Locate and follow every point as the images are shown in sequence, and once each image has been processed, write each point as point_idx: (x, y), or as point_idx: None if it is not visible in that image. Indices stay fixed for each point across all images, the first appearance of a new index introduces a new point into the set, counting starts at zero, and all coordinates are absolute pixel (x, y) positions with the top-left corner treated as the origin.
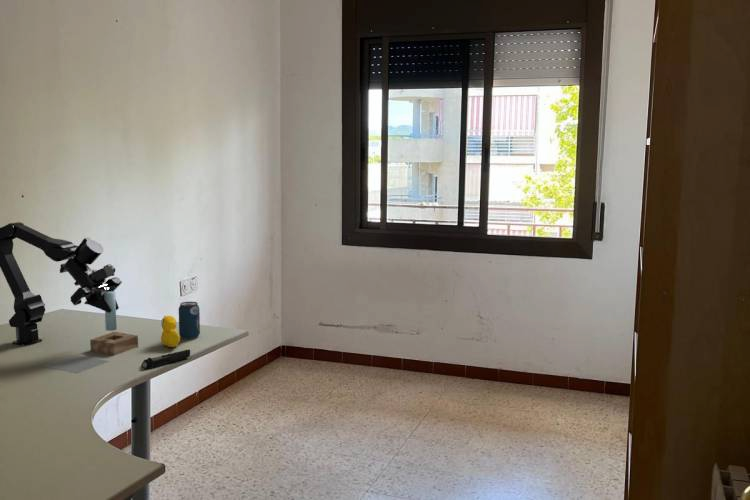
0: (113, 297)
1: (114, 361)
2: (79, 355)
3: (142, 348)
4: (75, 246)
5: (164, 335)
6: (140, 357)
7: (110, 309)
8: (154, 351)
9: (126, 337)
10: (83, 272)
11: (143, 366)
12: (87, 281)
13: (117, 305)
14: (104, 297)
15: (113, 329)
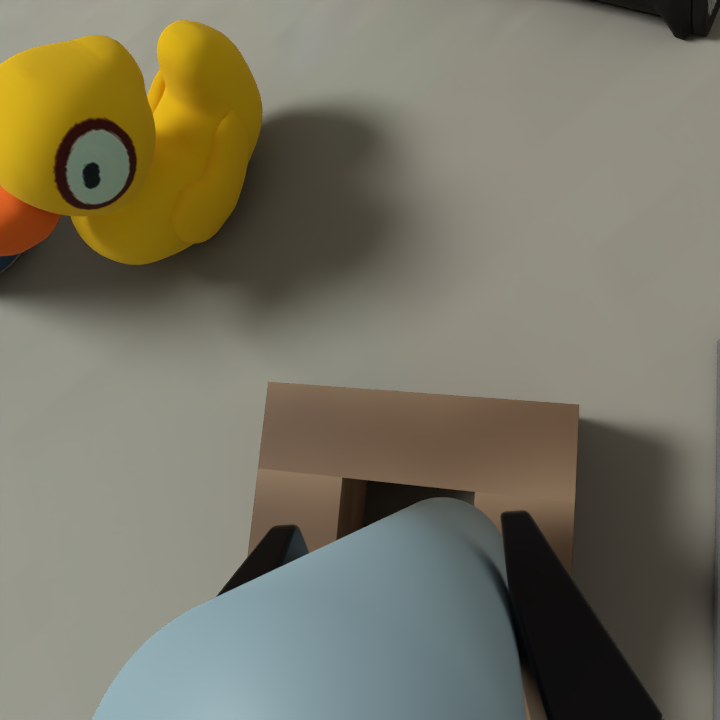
0: (370, 561)
1: (679, 319)
2: (717, 716)
3: (312, 348)
4: None
5: (181, 185)
6: (504, 208)
7: (527, 528)
8: (342, 217)
9: (355, 439)
10: None
11: (714, 2)
12: None
13: (259, 559)
14: None
15: (468, 504)
